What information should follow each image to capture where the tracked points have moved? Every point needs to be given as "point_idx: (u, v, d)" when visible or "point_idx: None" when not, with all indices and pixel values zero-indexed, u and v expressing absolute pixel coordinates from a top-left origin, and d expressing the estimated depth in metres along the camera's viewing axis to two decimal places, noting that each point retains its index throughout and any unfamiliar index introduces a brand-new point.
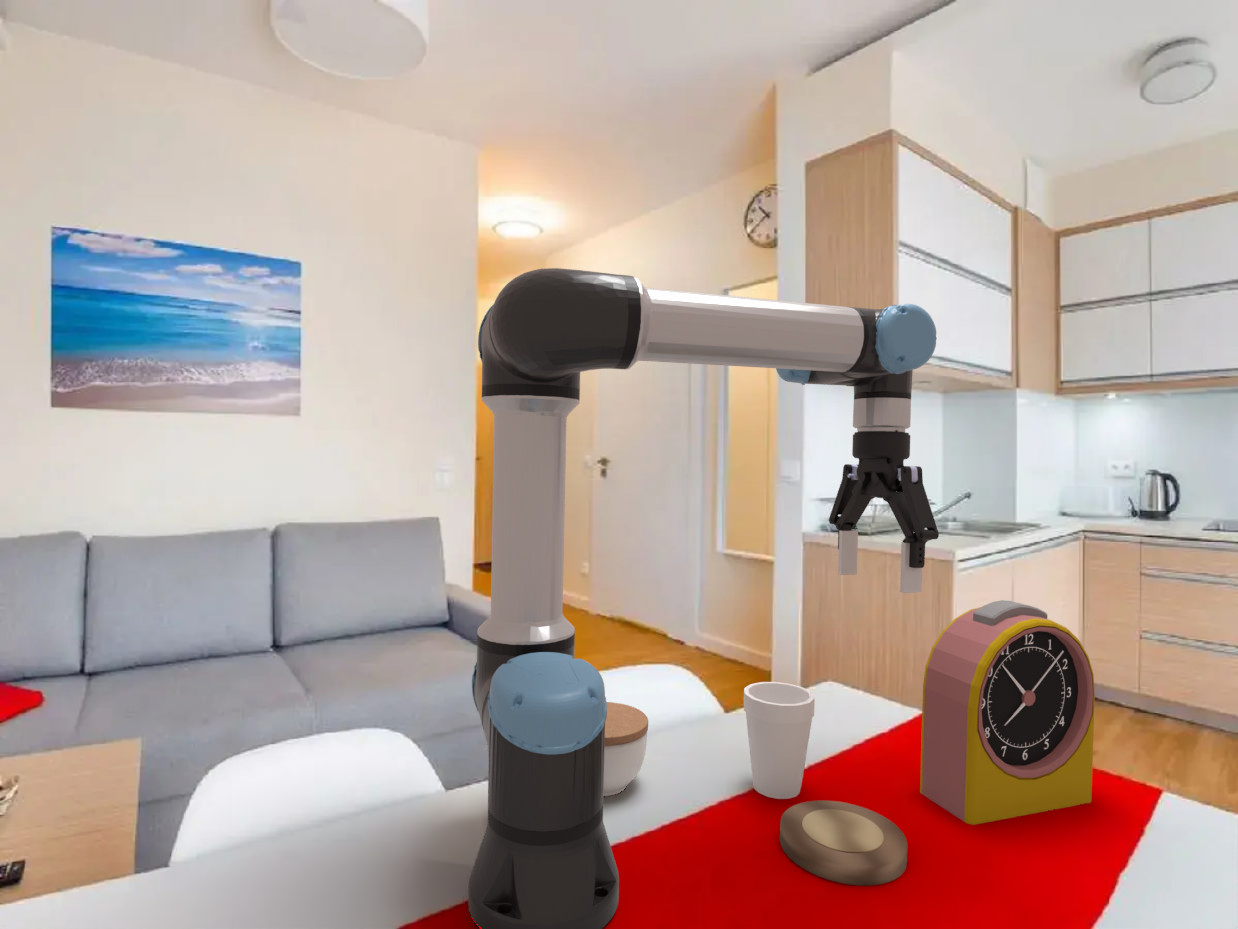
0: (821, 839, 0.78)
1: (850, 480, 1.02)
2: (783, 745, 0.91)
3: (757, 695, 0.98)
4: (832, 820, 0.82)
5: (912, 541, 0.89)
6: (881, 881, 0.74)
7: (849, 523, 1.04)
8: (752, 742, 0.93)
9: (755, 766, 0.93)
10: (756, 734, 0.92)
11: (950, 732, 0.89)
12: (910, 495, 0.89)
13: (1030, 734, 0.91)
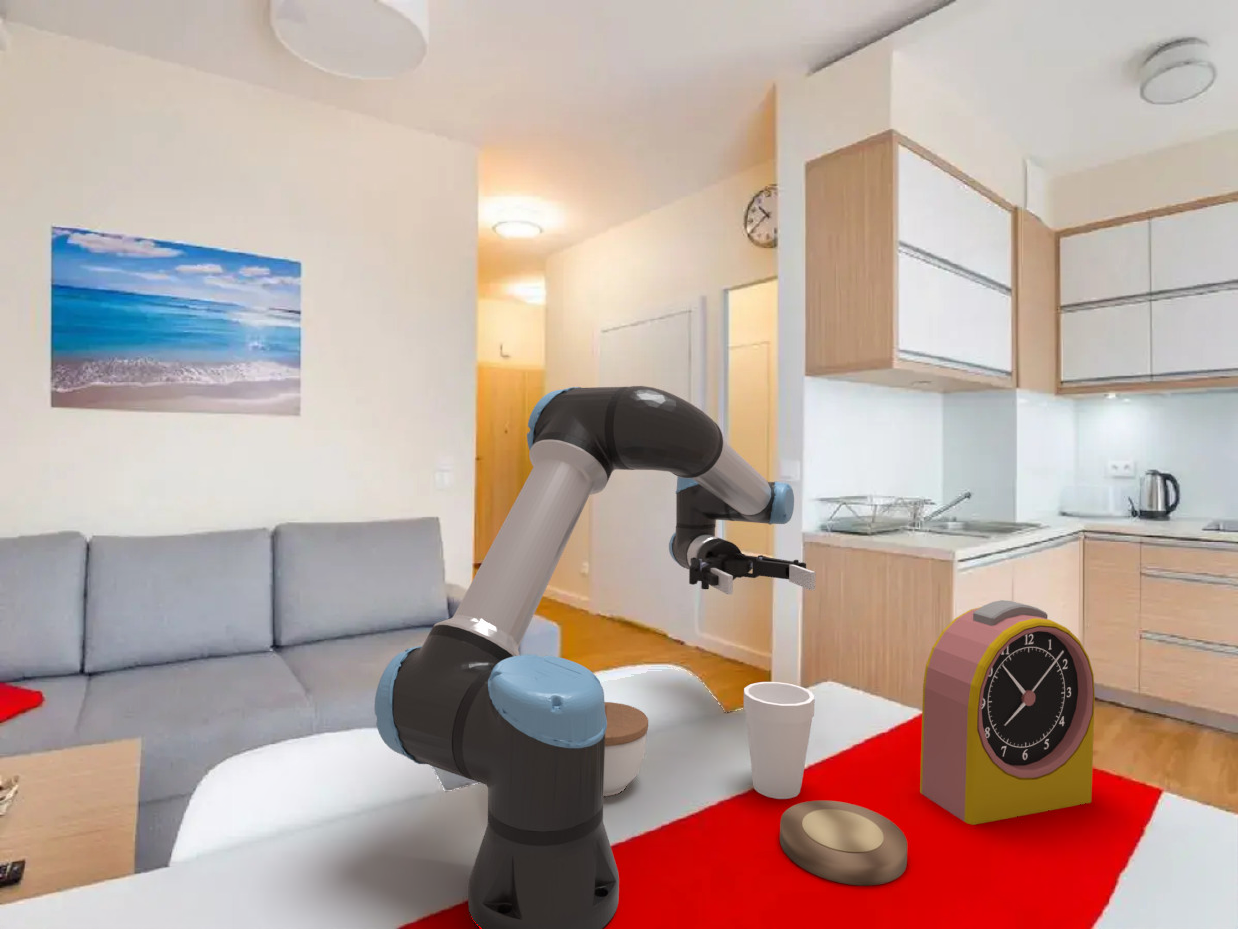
0: (821, 839, 0.78)
1: (700, 564, 1.15)
2: (783, 745, 0.91)
3: (757, 695, 0.98)
4: (832, 820, 0.82)
5: (798, 565, 1.12)
6: (881, 881, 0.74)
7: None
8: (752, 742, 0.93)
9: (755, 766, 0.93)
10: (756, 734, 0.92)
11: (950, 732, 0.89)
12: (777, 559, 1.17)
13: (1030, 734, 0.91)
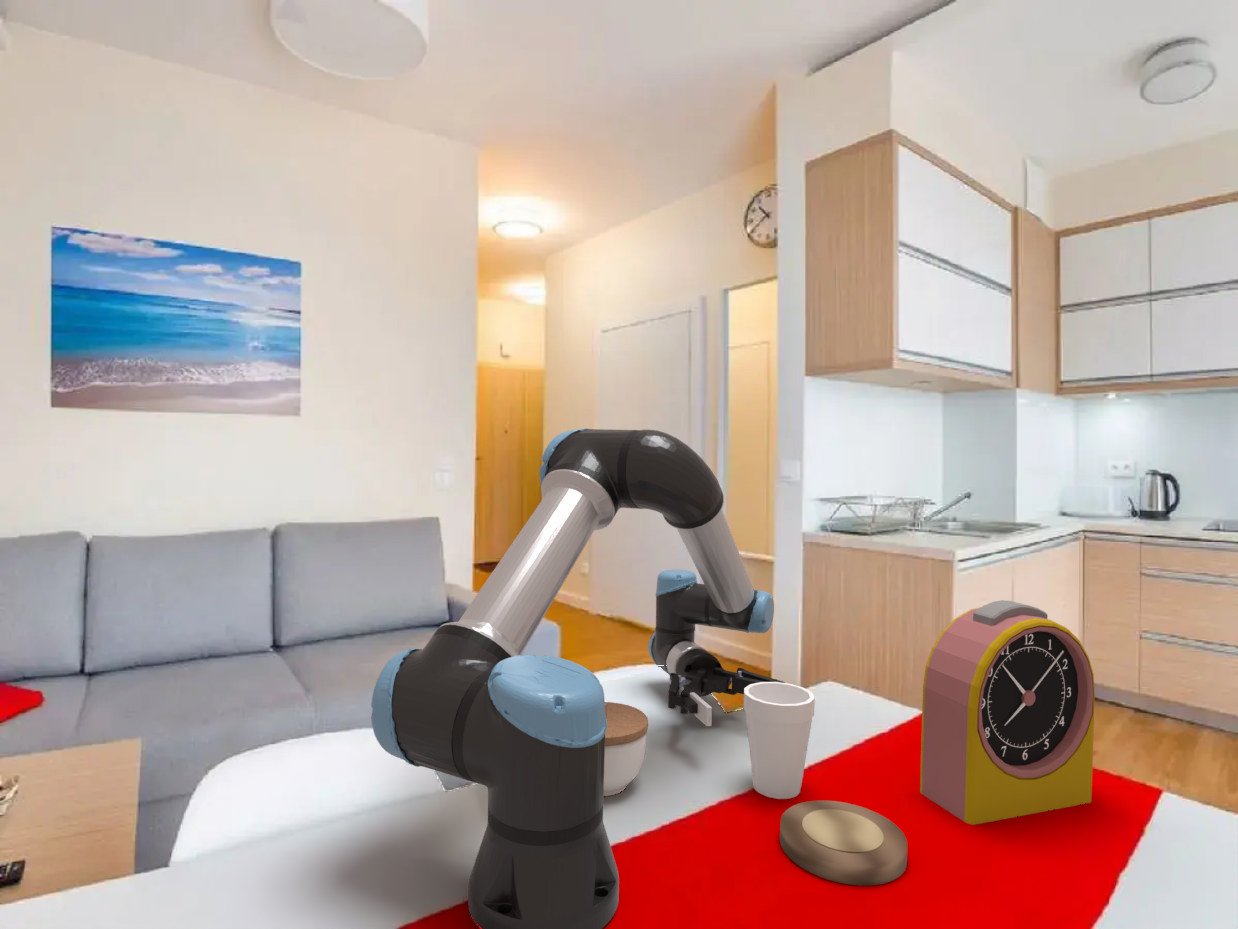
0: (821, 839, 0.78)
1: (679, 681, 1.14)
2: (783, 745, 0.91)
3: (757, 695, 0.98)
4: (832, 820, 0.82)
5: None
6: (881, 881, 0.74)
7: None
8: (752, 742, 0.93)
9: (755, 766, 0.93)
10: (756, 734, 0.92)
11: (950, 732, 0.89)
12: (757, 674, 1.17)
13: (1030, 734, 0.91)
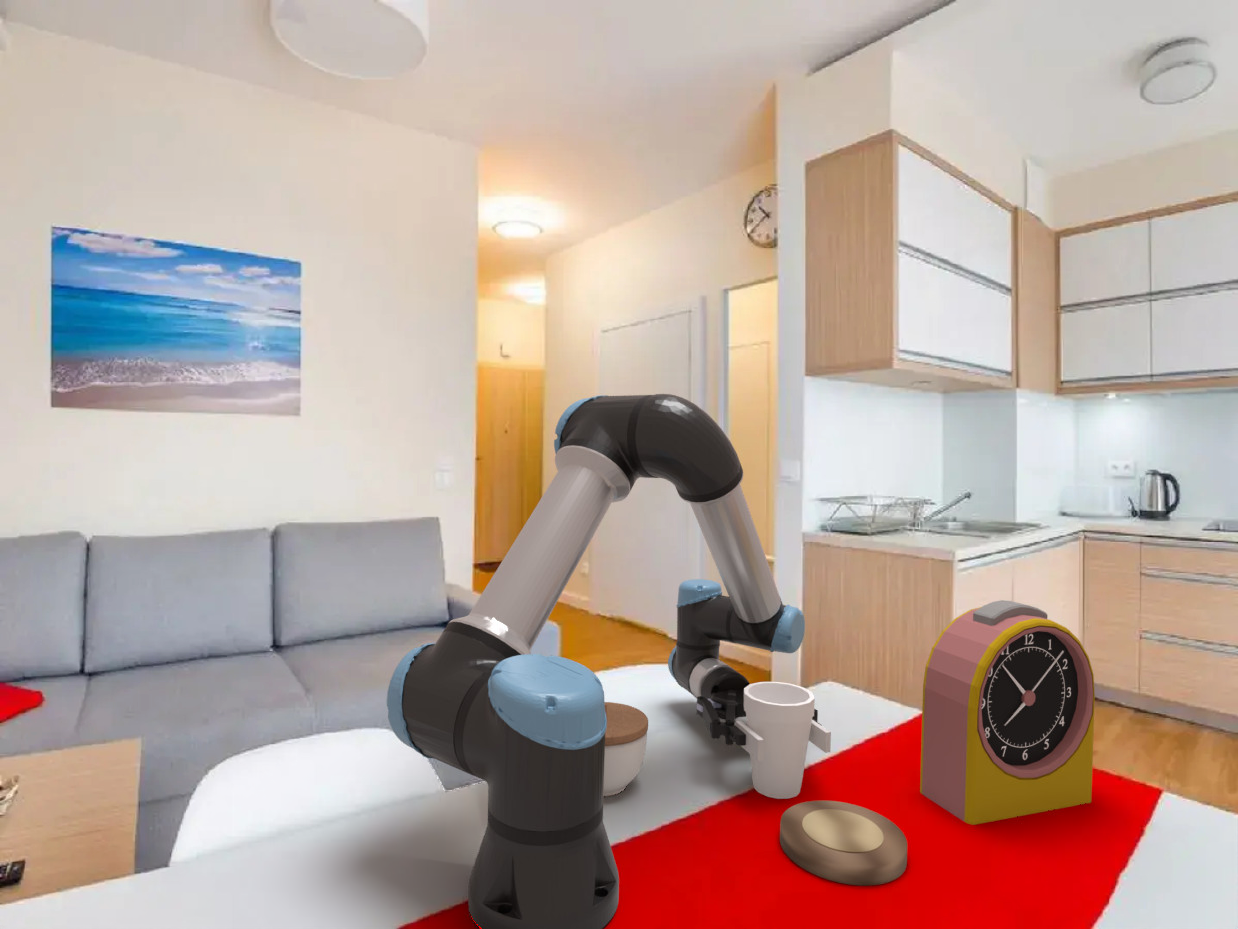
0: (821, 839, 0.78)
1: None
2: (783, 745, 0.91)
3: (757, 695, 0.98)
4: (832, 820, 0.82)
5: None
6: (881, 881, 0.74)
7: None
8: None
9: (755, 766, 0.93)
10: None
11: (950, 732, 0.89)
12: None
13: (1030, 734, 0.91)
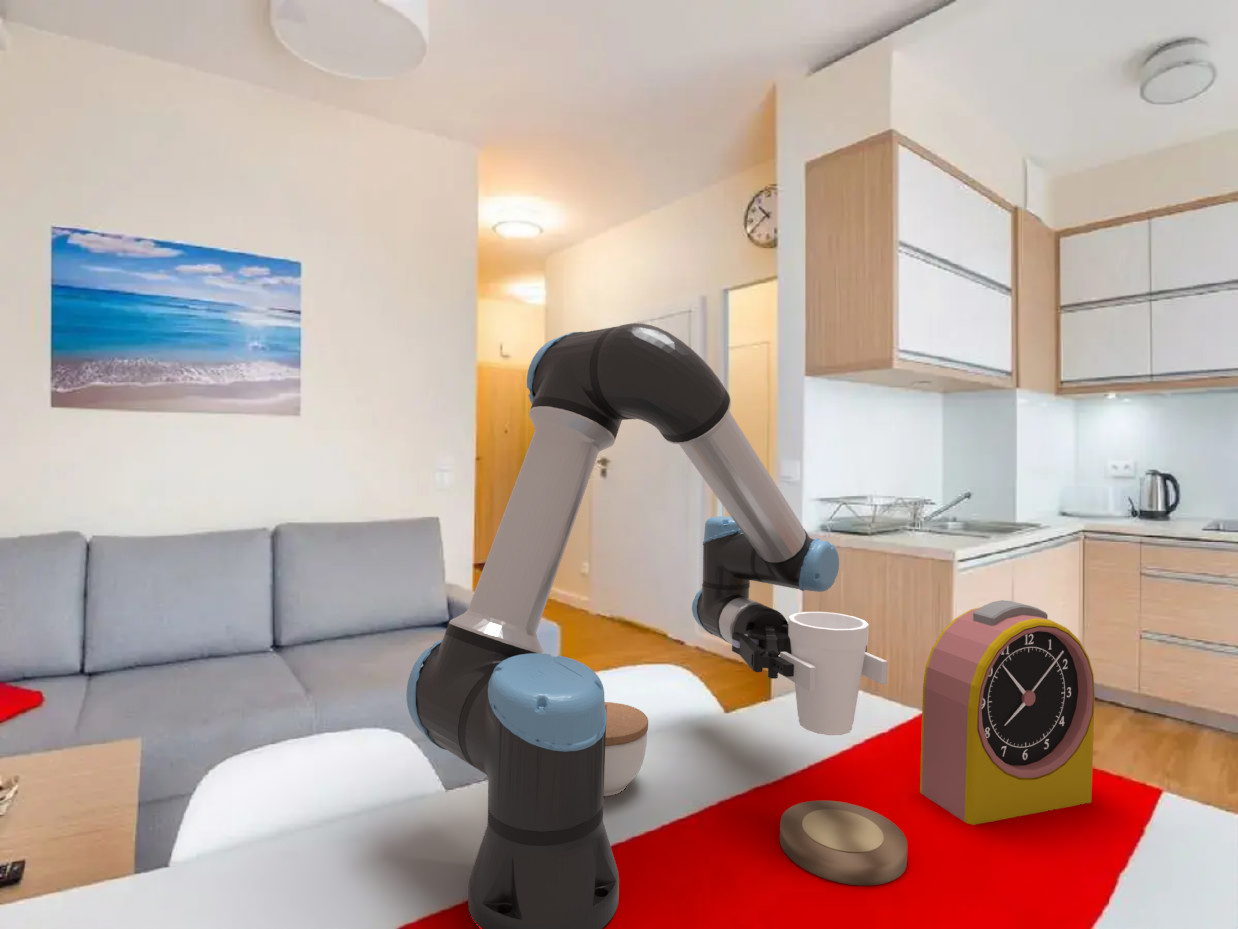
0: (821, 839, 0.78)
1: None
2: (836, 675, 0.81)
3: None
4: (832, 820, 0.82)
5: None
6: (881, 881, 0.74)
7: None
8: None
9: (803, 700, 0.84)
10: None
11: (950, 732, 0.89)
12: None
13: (1030, 734, 0.91)
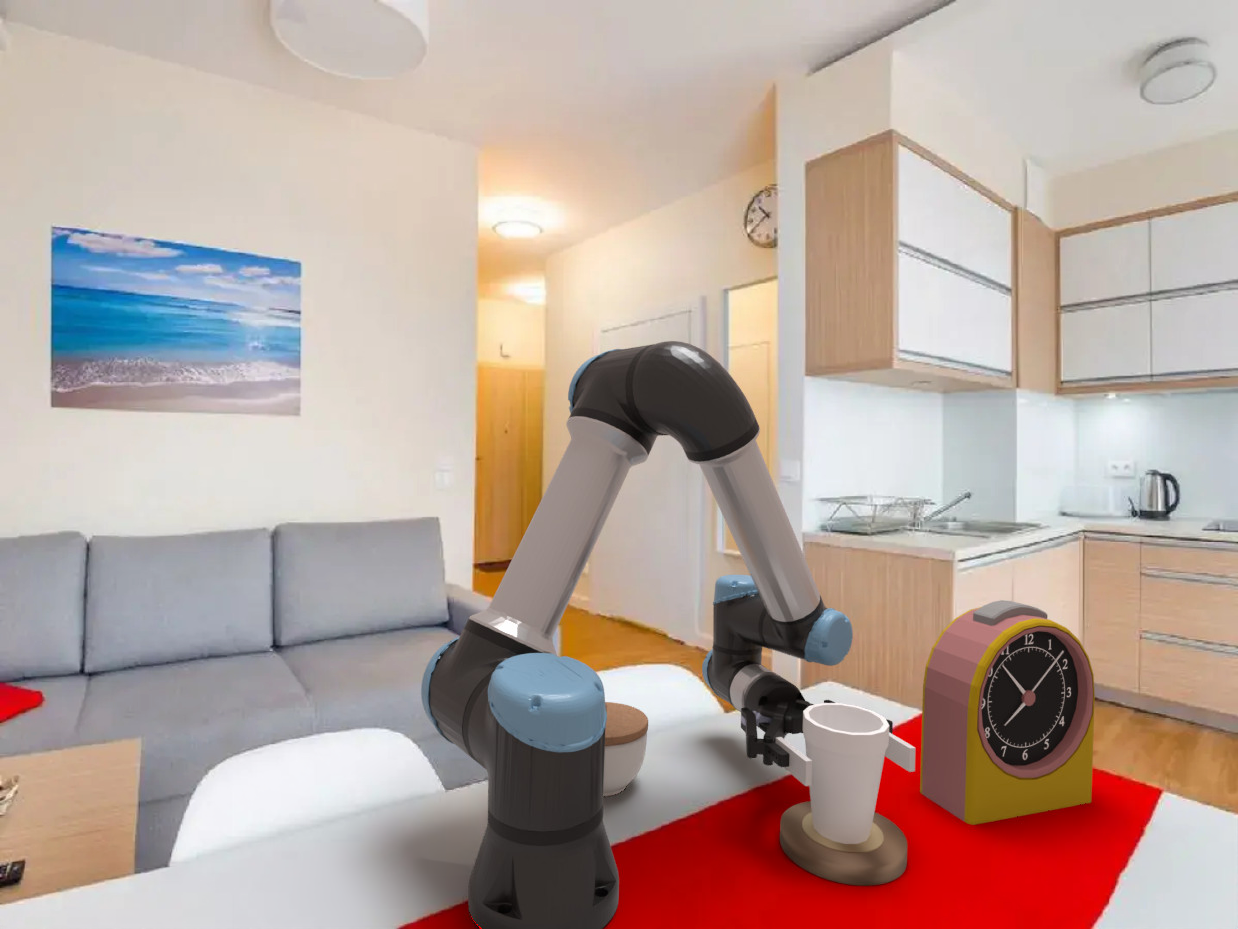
0: (821, 839, 0.78)
1: None
2: (853, 781, 0.76)
3: (818, 719, 0.83)
4: None
5: None
6: (881, 881, 0.74)
7: None
8: (814, 776, 0.79)
9: (818, 804, 0.79)
10: (820, 767, 0.78)
11: (950, 732, 0.89)
12: None
13: (1030, 734, 0.91)
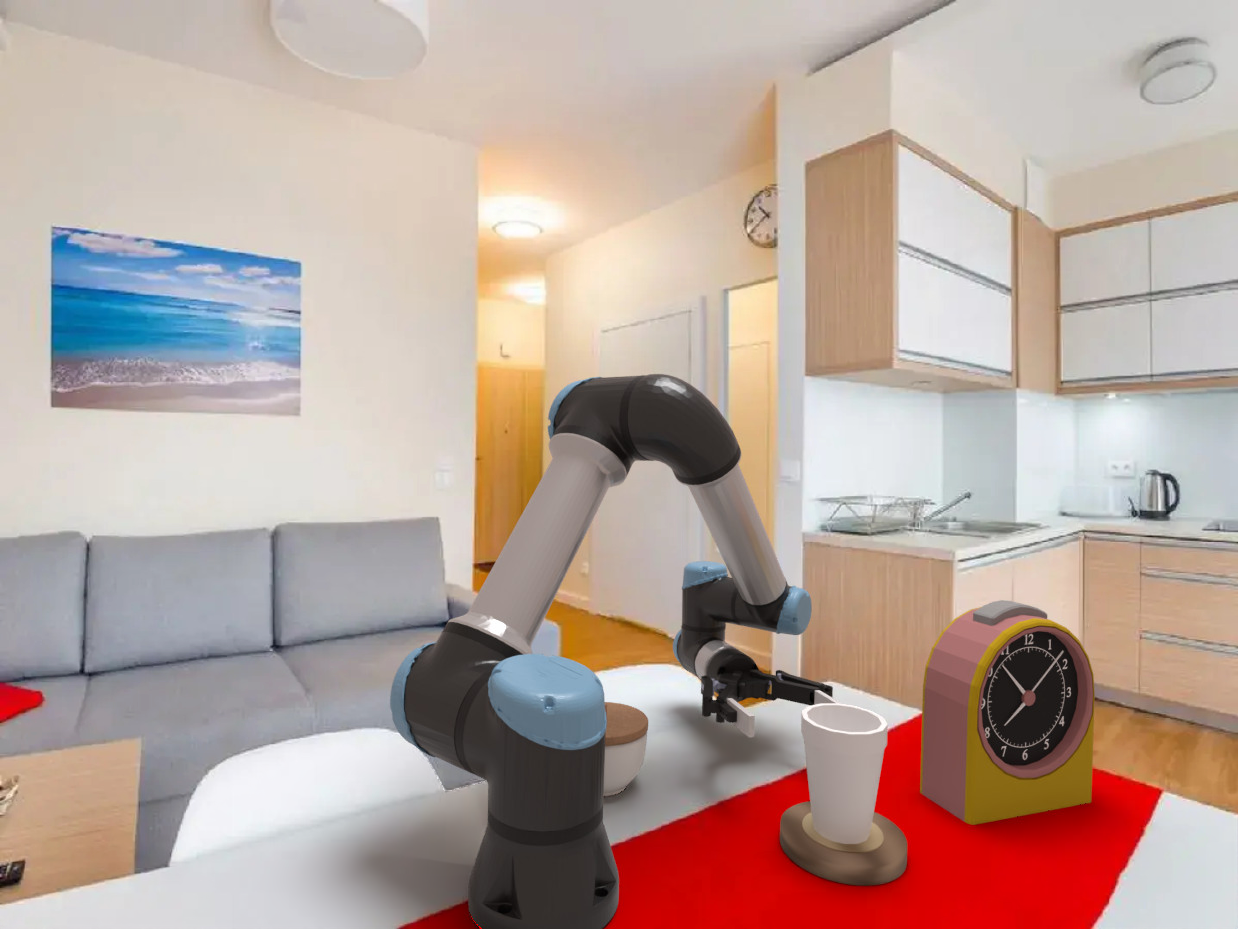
0: (821, 839, 0.78)
1: None
2: (852, 781, 0.76)
3: (816, 719, 0.83)
4: None
5: (824, 690, 0.98)
6: (881, 881, 0.74)
7: None
8: (813, 776, 0.79)
9: (817, 805, 0.79)
10: (818, 767, 0.78)
11: (950, 732, 0.89)
12: (799, 677, 1.04)
13: (1030, 734, 0.91)
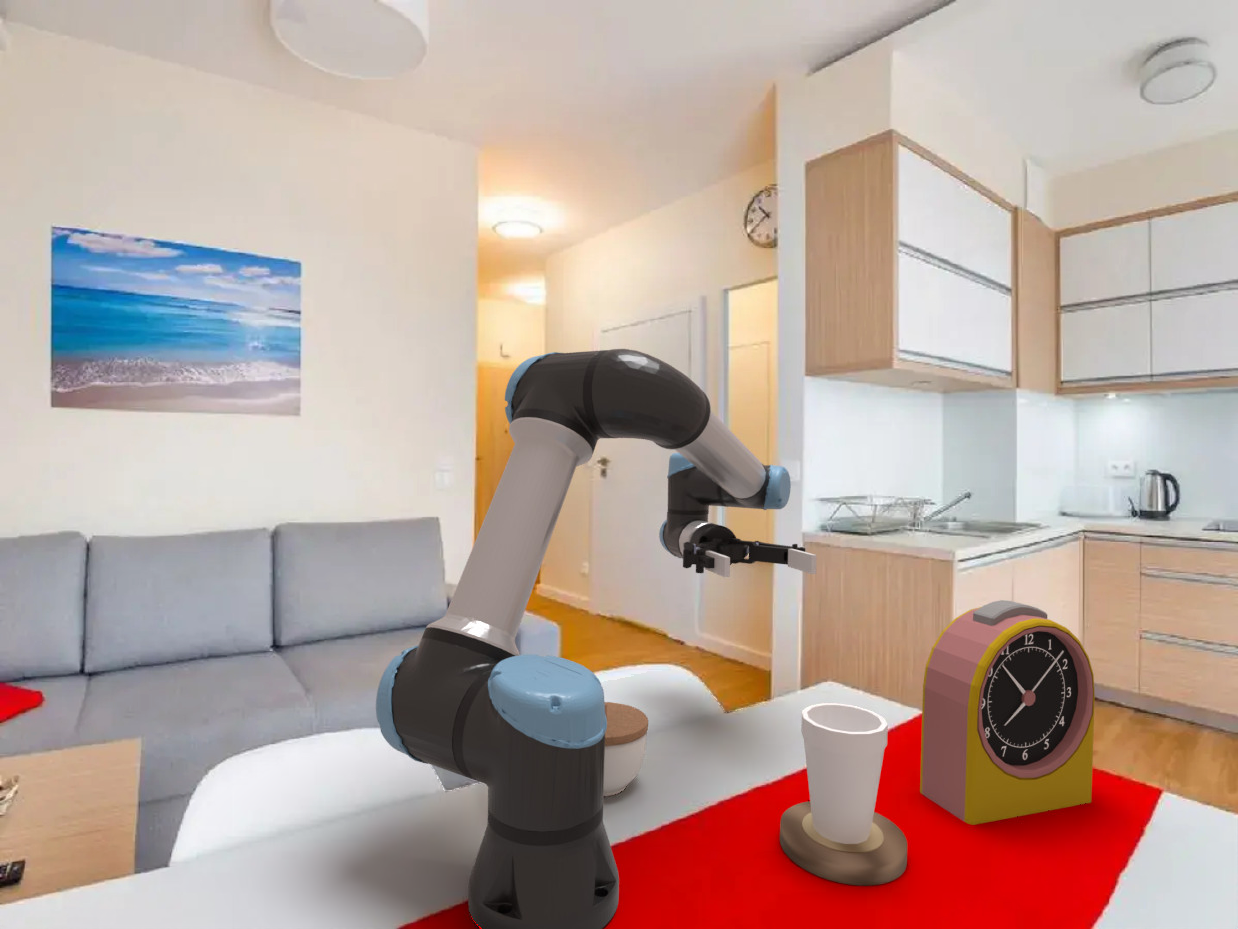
0: (821, 839, 0.78)
1: (693, 548, 1.09)
2: (852, 781, 0.76)
3: (816, 719, 0.84)
4: None
5: (797, 550, 1.06)
6: (881, 881, 0.74)
7: None
8: (813, 776, 0.79)
9: (817, 804, 0.79)
10: (819, 767, 0.78)
11: (950, 732, 0.89)
12: None
13: (1030, 734, 0.91)
